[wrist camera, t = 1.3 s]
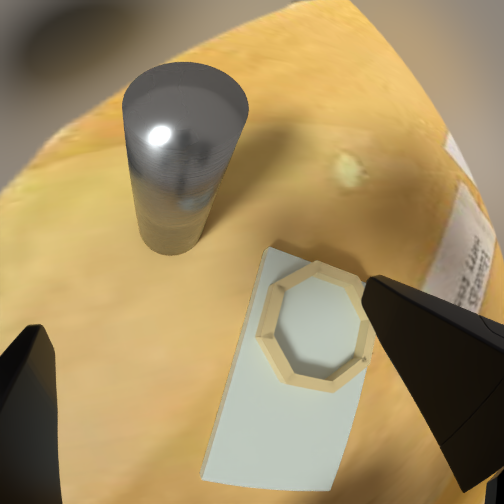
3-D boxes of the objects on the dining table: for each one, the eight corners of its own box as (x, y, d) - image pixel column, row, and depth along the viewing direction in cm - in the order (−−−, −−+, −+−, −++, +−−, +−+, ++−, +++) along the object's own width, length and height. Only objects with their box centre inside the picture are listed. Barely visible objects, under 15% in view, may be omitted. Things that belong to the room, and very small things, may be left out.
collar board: (322, 485, 19) (337, 496, 16) (199, 473, 17) (204, 487, 15) (372, 291, 24) (390, 286, 22) (263, 251, 23) (274, 241, 20)
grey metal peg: (190, 264, 21) (226, 170, 9) (128, 242, 20) (98, 128, 9) (210, 207, 22) (262, 84, 11) (153, 186, 22) (158, 51, 10)
